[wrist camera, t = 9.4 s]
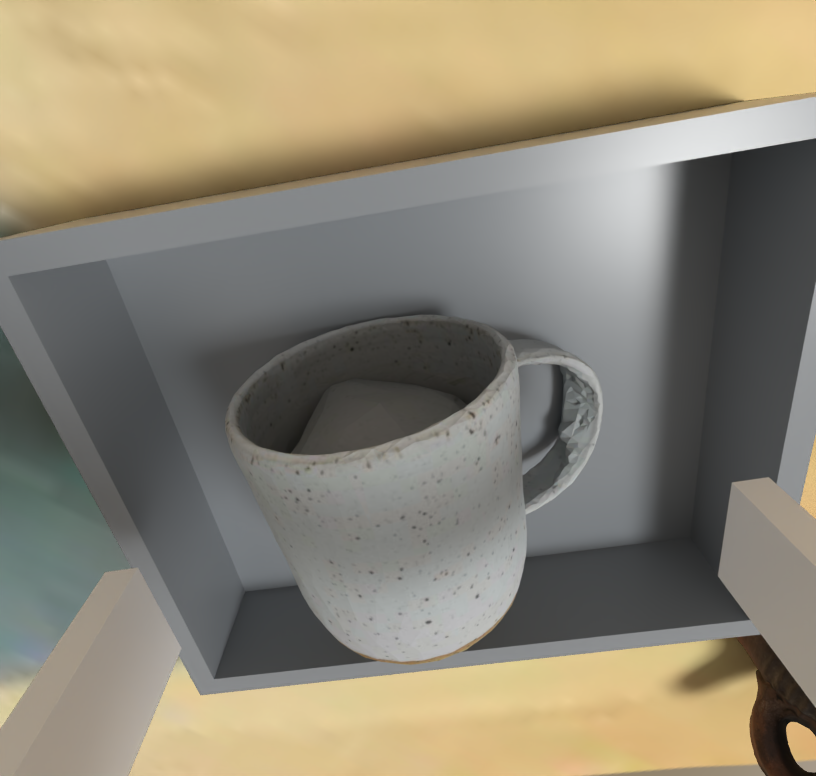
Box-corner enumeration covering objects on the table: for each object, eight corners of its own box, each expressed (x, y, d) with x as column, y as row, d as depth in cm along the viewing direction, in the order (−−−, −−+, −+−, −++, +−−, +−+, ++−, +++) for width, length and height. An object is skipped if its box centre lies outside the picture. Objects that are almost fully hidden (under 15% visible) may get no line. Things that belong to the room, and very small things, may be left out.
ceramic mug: (330, 526, 20) (296, 722, 14) (262, 340, 17) (168, 477, 10) (593, 477, 20) (699, 659, 13) (579, 272, 16) (717, 369, 9)
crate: (239, 588, 23) (200, 695, 19) (82, 218, 16) (-43, 248, 12) (696, 532, 22) (770, 633, 17) (746, 100, 15) (893, 82, 10)
